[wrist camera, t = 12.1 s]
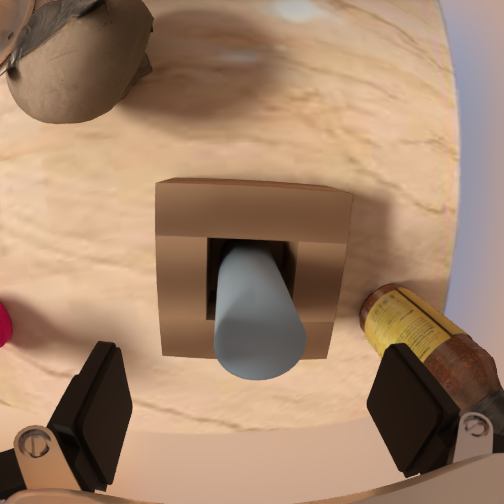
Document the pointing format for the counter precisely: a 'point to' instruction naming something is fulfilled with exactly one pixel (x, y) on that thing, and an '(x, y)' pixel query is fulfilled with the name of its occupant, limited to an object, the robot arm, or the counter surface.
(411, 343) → the sauce bottle
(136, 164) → the counter surface
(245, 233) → the socket block
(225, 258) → the peg
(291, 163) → the counter surface
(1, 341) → the pepper mill
